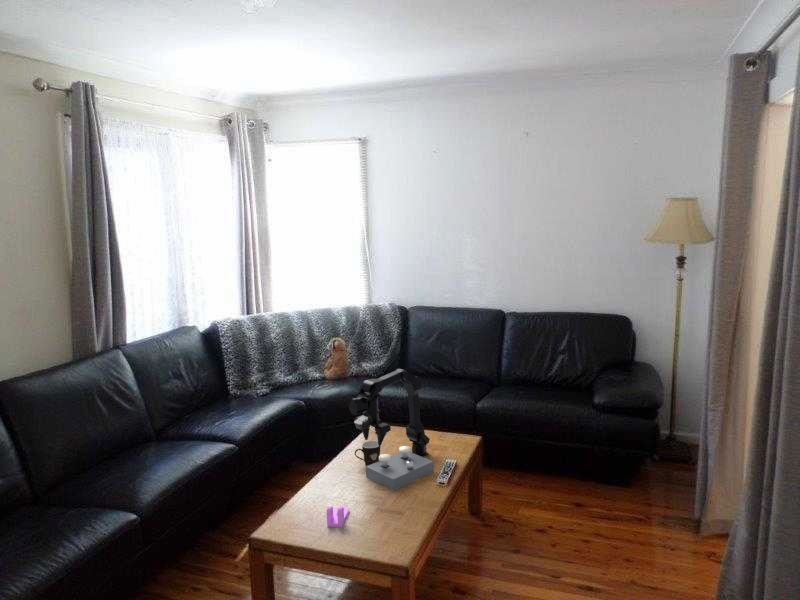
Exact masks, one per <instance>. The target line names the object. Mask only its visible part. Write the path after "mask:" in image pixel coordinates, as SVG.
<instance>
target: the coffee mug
mask: <svg viewBox="0 0 800 600" xmlns="http://www.w3.org/2000/svg"><path fill="white" fill-rule="evenodd" d="M361 446H362V448H356V450H355V451H354V456H355V457H356V458H357V459H359V460H361V461H363V462H364V464H365V467H366V466H368V465H371V464H373V463H376V462H378V461H379V455H381V446H382V444H381V445H380V446H379V445H378V440H365V441H364V442H362V443H361ZM358 451H361V453H362V455H363V458H361V457H359V456H358V455H357V452H358Z"/></svg>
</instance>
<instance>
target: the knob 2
mask: <svg viewBox="0 0 800 600" xmlns="http://www.w3.org/2000/svg"><path fill="white" fill-rule="evenodd" d="M409 452H411V447H410V446H408V445H403V446H402V445H401V446H399V447H398V453H402V458H407V457H408V454H407V453H409Z"/></svg>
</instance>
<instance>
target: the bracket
mask: <svg viewBox="0 0 800 600" xmlns="http://www.w3.org/2000/svg"><path fill="white" fill-rule="evenodd" d="M349 513H350V509H349V507H348V506H345V505H340V506H337V507H335V508H333V506H332V505H328V506H327V508H326V526H327V527H332V528H333V527H335V528H343V525H344V523H345V521H346V520H347V517H348V516H349Z"/></svg>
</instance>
